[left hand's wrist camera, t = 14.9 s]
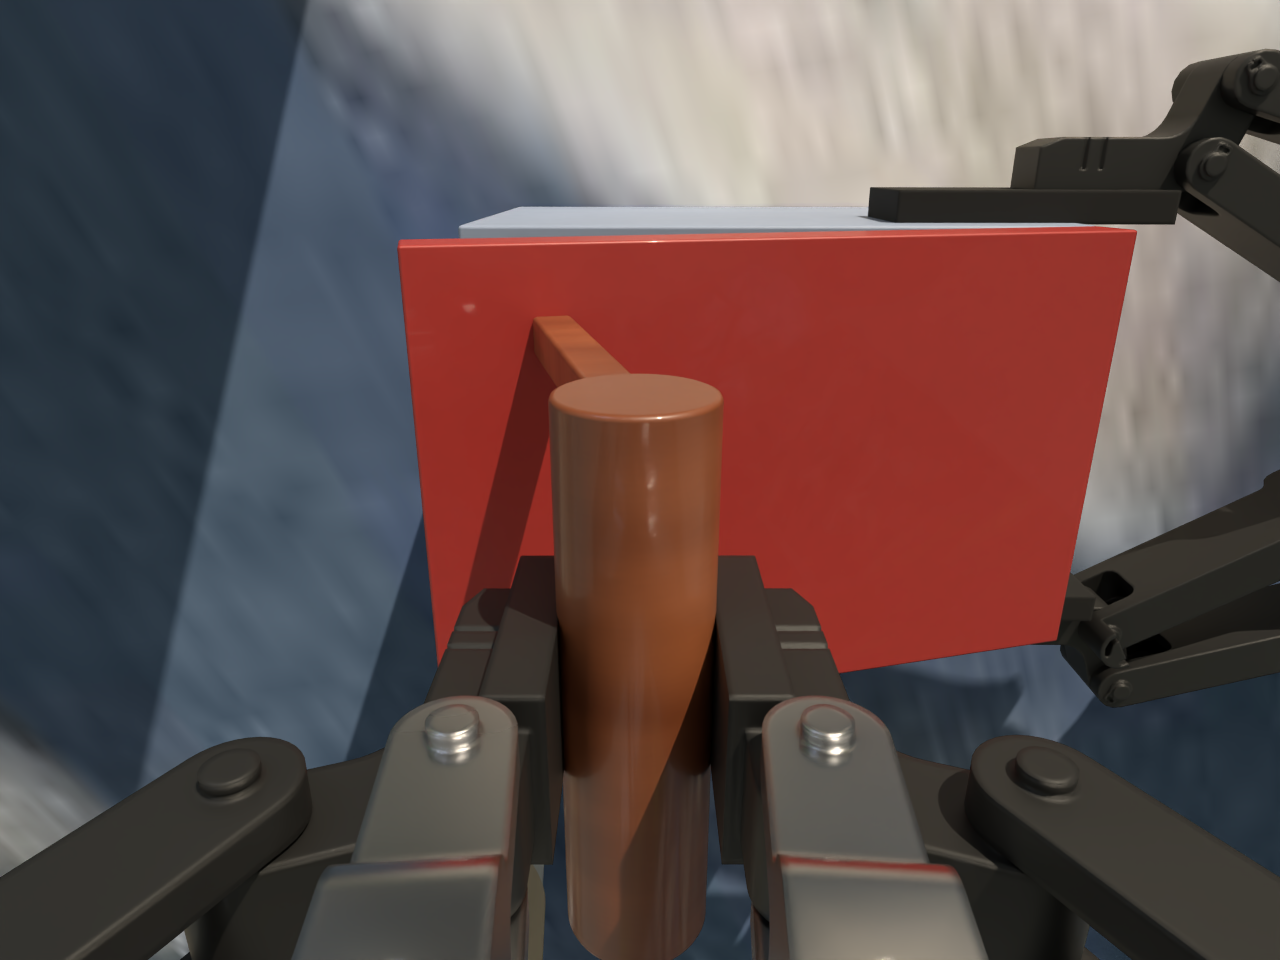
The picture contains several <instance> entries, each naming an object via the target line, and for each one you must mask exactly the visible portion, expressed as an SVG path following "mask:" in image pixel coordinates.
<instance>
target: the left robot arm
mask: <svg viewBox="0 0 1280 960" xmlns="http://www.w3.org/2000/svg"><path fill="white" fill-rule="evenodd" d="M710 764H711V773H712V782H713V791H714V799H715V808H716V817H717V826H718V834H719V843H720V852H721V861H722V864H744V870H745V877H746V884H747V889H748V893H749V897H750V899H751V901H752V902H751V918H750V924H751V947H752V960H1100V959H1098V958H1097V957H1096V956H1095V955H1094V954H1092V953H1091V952H1090V951H1089V950H1088V949H1086V948H1085V947H1084V946H1085V942H1086V938H1087V934H1088V931H1089V927H1090V926H1091V927H1092V928H1093V929H1095V930H1096V931H1097V932H1098V933H1100V934H1101V935H1102V936H1103V937H1105V938H1106V939H1107V940H1108V941H1110V942H1111V943H1112V944H1113V945H1115V946H1116V947H1117V948H1118V949H1119V950H1121V951H1122V952H1123V953H1124V954H1126V955H1127V956H1128V957H1129V958H1131V959H1132V960H1280V877H1278V876H1277V875H1275V874H1274V873H1272V872H1270V871H1269V870H1267V869H1266V868H1264V867H1262V866H1261V865H1259V864H1258V863H1256V862H1255V861H1253V860H1251V859H1250V858H1248V857H1247V856H1245V855H1243V854H1242V853H1240V852H1239V851H1237V850H1236V849H1234V848H1232V847H1231V846H1229V845H1228V844H1226V843H1224V842H1223V841H1221V840H1220V839H1218V838H1216V837H1215V836H1213V835H1212V834H1210V833H1209V832H1207V831H1205V830H1204V829H1202V828H1201V827H1199V826H1197V825H1196V824H1194V823H1193V822H1191V821H1189V820H1188V819H1186V818H1185V817H1183V816H1182V815H1180V814H1178V813H1177V812H1175V811H1174V810H1172V809H1170V808H1169V807H1167V806H1166V805H1164V804H1163V803H1161V802H1159V801H1158V800H1156V799H1155V798H1153V797H1151V796H1150V795H1148V794H1147V793H1145V792H1143V791H1142V790H1140V789H1139V788H1137V787H1136V786H1134V785H1132V784H1131V783H1129V782H1128V781H1126V780H1124V779H1123V778H1121V777H1120V776H1118V775H1116V774H1115V773H1113V772H1112V771H1110V770H1109V769H1107V768H1105V767H1104V766H1102V765H1101V764H1099V763H1097V762H1096V761H1094V760H1093V759H1091V758H1089V757H1088V756H1086V755H1084V754H1083V753H1081V752H1079V751H1077V750H1075V749H1073V748H1071V747H1068V746H1066V745H1064V744H1061V743H1058V742H1055V741H1052V740H1048V739H1044V738H1040V737H1033V736H1025V735H1006V736H1000V737H996V738H993V739H990V740H987V741H986V742H984V743H982V744H981V745H980V746H979V747H978V748H977V749H976V750H975V752H974V754H973V755H972V761H971V767H970V770H967V769H962V768H958V767H953V766H949V765H944V764H939V763H935V762H930V761H926V760H922V759H918V758H914V757H911V756H909V755H906V754H903V753H900V752H898V751H896V749H895V746H894V743H893V739H892V736H891V734H890V732H889V730H888V728H887V727H886V725H885V724H884V723H883V722H882V721H881V720H880V719H879V718H878V717H877V716H876V715H874V714H873V713H872V712H870V711H869V710H867V709H865V708H863V707H861V706H859V705H857V704H855V703H852V702H850V701H849V698H848V695H847V693H846V690H845V688H844V685H843V682H842V680H841V677H840V675H839V672H838V669H837V667H836V664H835V662H834V659H833V656H832V654H831V651H830V649H828V643H827V641H826V638H825V635H824V633H823V631H821V625H820V622H819V620H818V617H817V615H816V612H815V609H814V607H813V606H812V605H811V604H810V603H809V602H808V601H806V600H805V599H804V598H803V597H802V596H800V595H799V594H798V593H797V592H796V591H794V590H793V589H792V588H764V585H763V581H762V578H761V574H760V571H759V567H758V564H757V560H756V557H755V556H754V555H718V577H717V605H716V621H715V649H714V677H713V706H712V734H711V762H710ZM563 776H564V751H563V725H562V699H561V673H560V646H559V620H558V617H557V613H556V592H555V567H554V555H541V556H521V557H520V559H519V562H518V566H517V569H516V572H515V576H514V579H513V583H512V586H511V588H484V589H482V590H481V591H480V592H479V593H478V594H476V595H475V596H474V597H473V598H472V599H470V600H469V601H468V602H467V603H466V604H464V605H463V606H462V608H461V611H460V613H459V616H458V618H457V621H456V623H455V626H454V631H452V633H451V636H450V639H449V641H448V644H447V649H445V651H444V654H443V656H442V659H441V661H440V664H439V666H438V669H437V671H436V674H435V677H434V679H433V682H432V684H431V687H430V689H429V692H428V694H427V697H426V699H425V702H424V704H423V705H421V706H419V707H417V708H415V709H413V710H411V711H410V712H408V713H407V714H406V715H404V716H403V717H402V718H401V719H400V720H399V721H398V722H397V723H396V724H395V725H394V727H393V728H392V730H391V732H390V734H389V736H388V739H387V743H386V746H385V748H383V749H381V750H378V751H376V752H374V753H372V754H369V755H366V756H363V757H361V758H357V759H353V760H349V761H345V762H340V763H336V764H331V765H327V766H322V767H317V768H313V769H308V770H307V769H306V763H305V758H304V756H303V754H302V752H301V751H300V750H299V749H298V748H297V747H296V746H295V745H293V744H291V743H290V742H287V741H284V740H281V739H277V738H271V737H252V738H243V739H237V740H233V741H229V742H225V743H222V744H219V745H216V746H213V747H211V748H208V749H206V750H204V751H202V752H200V753H198V754H196V755H194V756H193V757H191V758H189V759H187V760H186V761H184V762H183V763H181V764H179V765H178V766H176V767H175V768H173V769H171V770H170V771H168V772H167V773H165V774H164V775H162V776H160V777H159V778H157V779H156V780H154V781H152V782H151V783H149V784H148V785H146V786H144V787H143V788H141V789H140V790H138V791H137V792H135V793H133V794H132V795H130V796H129V797H127V798H125V799H124V800H122V801H121V802H119V803H117V804H116V805H114V806H113V807H111V808H110V809H108V810H106V811H105V812H103V813H102V814H100V815H98V816H97V817H95V818H94V819H92V820H90V821H89V822H87V823H86V824H84V825H83V826H81V827H79V828H78V829H76V830H75V831H73V832H71V833H70V834H68V835H67V836H65V837H64V838H62V839H60V840H59V841H57V842H56V843H54V844H52V845H51V846H49V847H48V848H46V849H44V850H43V851H41V852H40V853H38V854H37V855H35V856H33V857H32V858H30V859H29V860H27V861H25V862H24V863H22V864H21V865H19V866H17V867H16V868H14V869H13V870H11V871H10V872H8V873H6V874H5V875H3V876H2V877H0V960H148V959H149V958H151V957H152V956H153V955H154V954H156V953H157V952H158V951H159V950H160V949H162V948H163V947H164V946H165V945H167V944H168V943H169V942H170V941H172V940H173V939H174V938H175V937H177V936H178V935H179V934H180V933H182V932H183V931H185V935H186V939H187V943H188V947H189V951H190V952H189V953H188V954H186V955H185V956H184V957H183V958H182V959H180V960H528V946H529V924H530V918H529V902H528V886H527V885H528V878H529V872H530V865H553V858H554V849H555V841H556V833H557V825H558V817H559V809H560V800H561V792H562V784H563Z"/></svg>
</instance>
